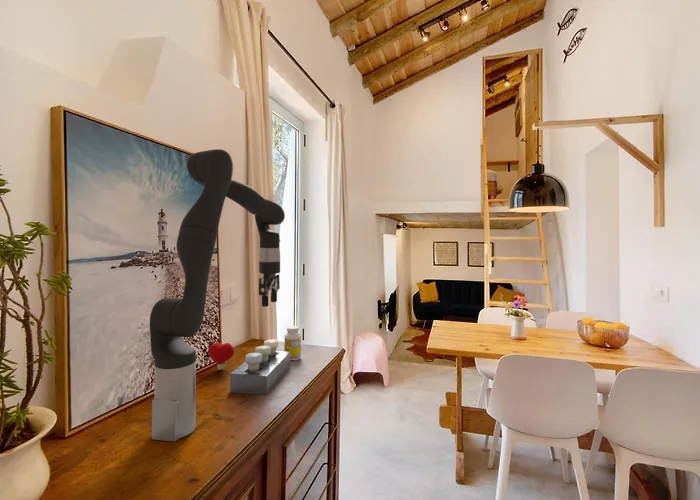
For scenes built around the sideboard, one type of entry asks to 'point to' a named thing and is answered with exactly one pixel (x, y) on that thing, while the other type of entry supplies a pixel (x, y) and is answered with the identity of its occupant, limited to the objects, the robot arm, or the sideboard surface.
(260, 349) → the cap mid
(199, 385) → the sideboard surface
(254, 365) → the cap near
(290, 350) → the supplement bottle
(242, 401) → the sideboard surface
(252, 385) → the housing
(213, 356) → the red heart
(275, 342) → the cap far
